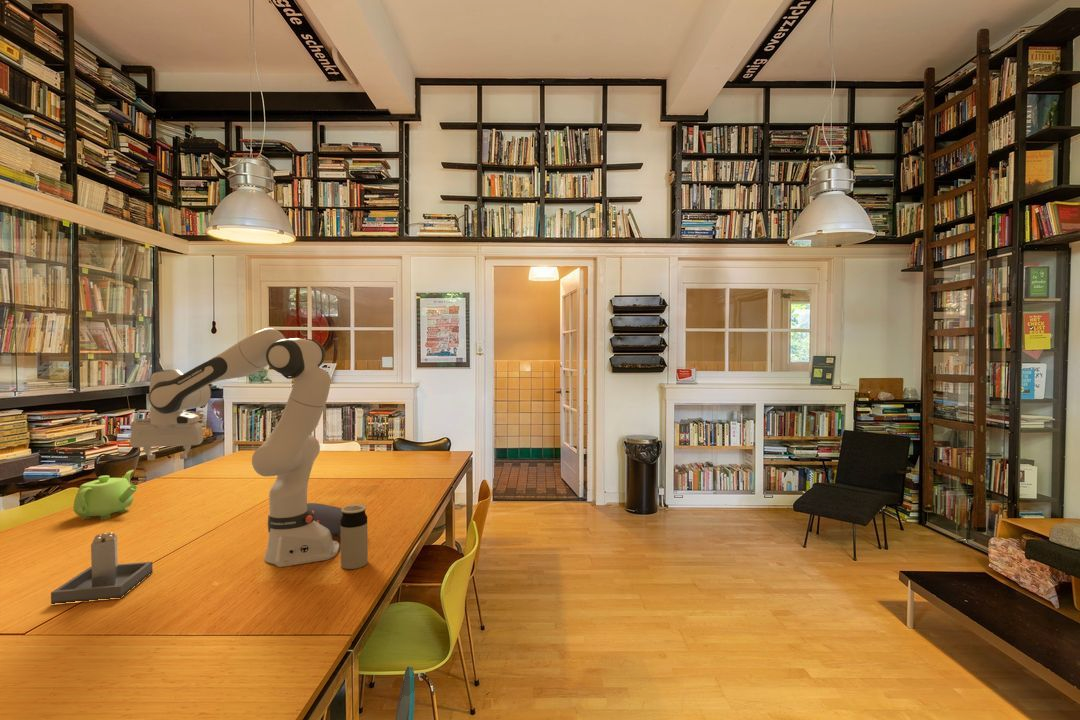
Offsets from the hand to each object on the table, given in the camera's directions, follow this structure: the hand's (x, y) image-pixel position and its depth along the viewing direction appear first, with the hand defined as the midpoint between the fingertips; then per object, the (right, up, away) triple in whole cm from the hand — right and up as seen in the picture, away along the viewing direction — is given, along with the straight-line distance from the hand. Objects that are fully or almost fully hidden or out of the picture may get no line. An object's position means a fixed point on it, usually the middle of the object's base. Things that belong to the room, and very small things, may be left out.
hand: (167, 459), depth 167 cm
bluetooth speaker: (+46, -31, +18) cm, 59 cm away
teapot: (-51, -30, +39) cm, 71 cm away
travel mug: (+66, -32, -9) cm, 74 cm away
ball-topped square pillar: (+1, -31, -25) cm, 39 cm away
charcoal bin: (+1, -32, -25) cm, 40 cm away
